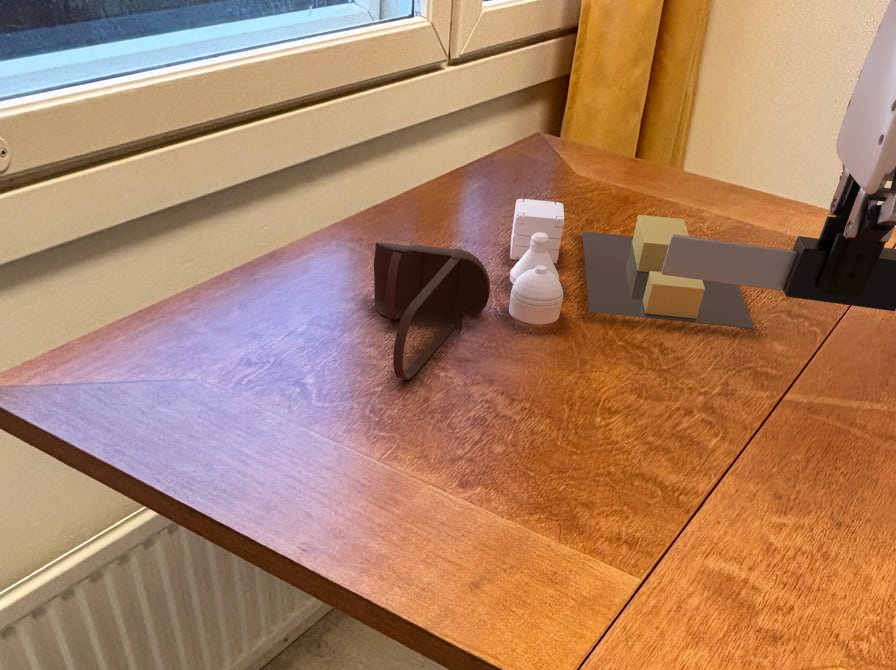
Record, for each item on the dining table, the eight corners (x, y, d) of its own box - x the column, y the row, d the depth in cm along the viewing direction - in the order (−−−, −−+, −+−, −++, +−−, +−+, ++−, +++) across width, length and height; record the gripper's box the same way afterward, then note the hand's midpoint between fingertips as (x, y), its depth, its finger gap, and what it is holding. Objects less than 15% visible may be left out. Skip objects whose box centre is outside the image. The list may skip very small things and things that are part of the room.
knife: (886, 297, 66) (908, 250, 64) (895, 311, 65) (918, 263, 62) (659, 267, 67) (673, 218, 64) (662, 280, 65) (676, 230, 62)
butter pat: (692, 305, 88) (701, 275, 86) (696, 319, 86) (705, 288, 84) (642, 300, 89) (649, 270, 87) (644, 314, 86) (652, 283, 84)
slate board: (720, 253, 101) (723, 244, 101) (751, 338, 86) (754, 328, 86) (580, 239, 102) (582, 230, 101) (586, 321, 87) (588, 311, 86)
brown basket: (373, 297, 88) (375, 225, 83) (489, 313, 87) (498, 241, 82) (327, 386, 75) (327, 307, 70) (463, 406, 74) (472, 327, 69)
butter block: (676, 246, 99) (684, 218, 97) (684, 276, 94) (692, 247, 92) (631, 242, 99) (638, 214, 97) (637, 271, 94) (644, 242, 92)
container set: (508, 249, 98) (515, 197, 95) (555, 254, 98) (564, 201, 94) (505, 331, 84) (513, 273, 80) (560, 337, 84) (570, 279, 80)
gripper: (1081, 5, 46) (917, 340, 59) (976, -42, 58) (858, 248, 70) (935, -9, 46) (804, 328, 59) (859, -53, 58) (763, 237, 71)
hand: (834, 282), depth 65 cm, fingers closed on knife, 2 cm apart
